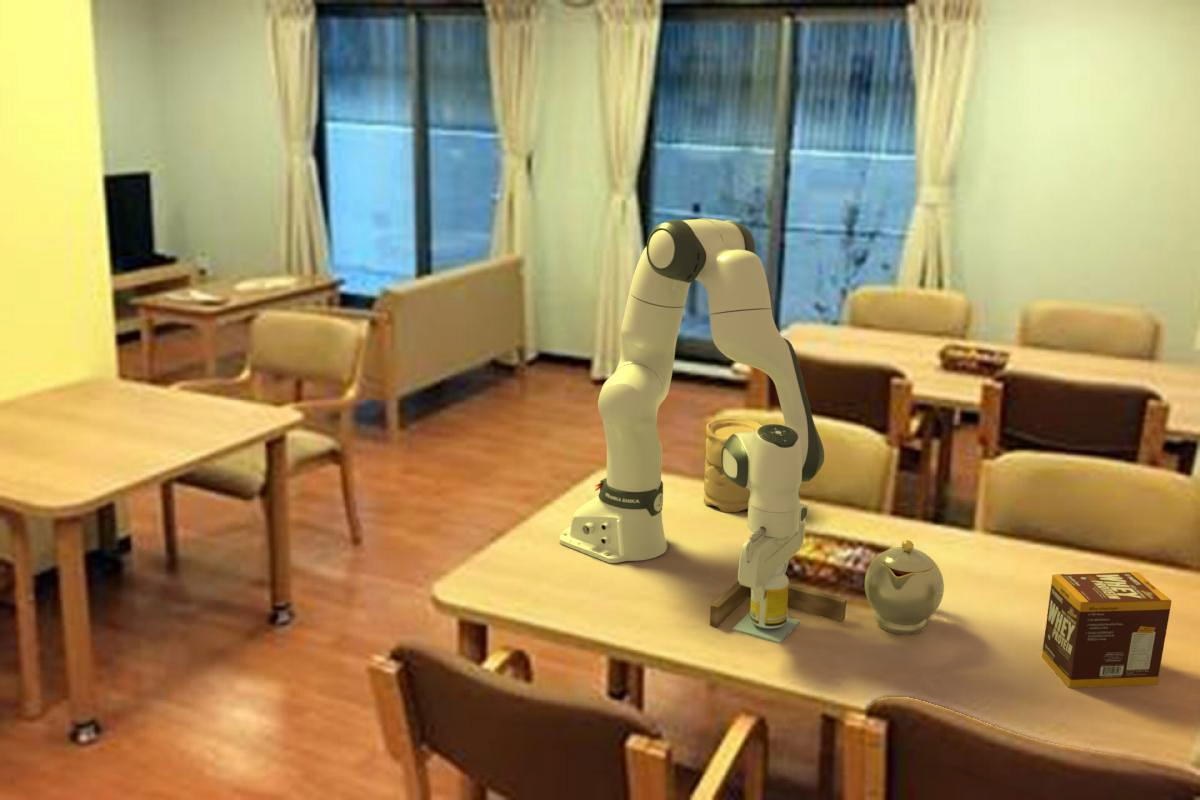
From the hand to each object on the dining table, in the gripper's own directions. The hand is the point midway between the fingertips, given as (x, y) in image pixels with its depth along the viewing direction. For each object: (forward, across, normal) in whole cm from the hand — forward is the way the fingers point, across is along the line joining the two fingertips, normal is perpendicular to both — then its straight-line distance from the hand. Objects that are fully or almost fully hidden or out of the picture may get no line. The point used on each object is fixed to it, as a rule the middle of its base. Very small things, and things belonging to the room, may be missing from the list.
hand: (769, 590), depth 209 cm
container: (+7, +49, +31) cm, 59 cm away
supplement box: (+7, +16, -53) cm, 56 cm away
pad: (+7, 0, 0) cm, 7 cm away
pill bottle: (+6, 0, 0) cm, 6 cm away
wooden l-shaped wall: (+7, +2, -1) cm, 7 cm away
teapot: (+7, +15, -20) cm, 26 cm away
